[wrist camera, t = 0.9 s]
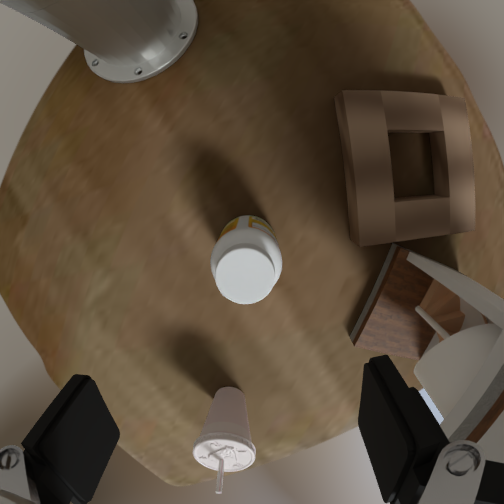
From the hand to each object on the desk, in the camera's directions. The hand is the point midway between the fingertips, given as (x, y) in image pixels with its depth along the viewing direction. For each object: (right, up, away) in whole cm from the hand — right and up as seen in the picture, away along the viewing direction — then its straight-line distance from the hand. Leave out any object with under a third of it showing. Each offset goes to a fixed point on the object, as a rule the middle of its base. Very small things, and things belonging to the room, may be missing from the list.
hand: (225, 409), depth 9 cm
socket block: (+16, +14, +18) cm, 28 cm away
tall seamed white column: (+19, -1, +22) cm, 29 cm away
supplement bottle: (0, +6, +20) cm, 21 cm away
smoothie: (-2, -13, +26) cm, 29 cm away
